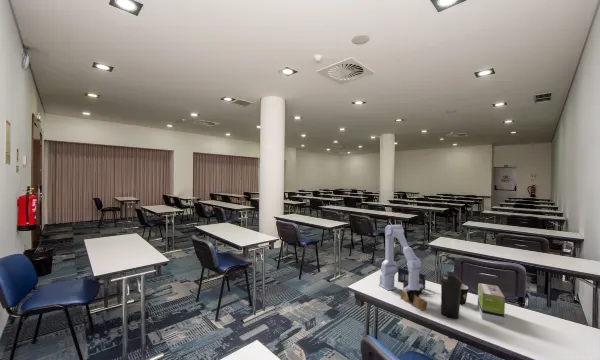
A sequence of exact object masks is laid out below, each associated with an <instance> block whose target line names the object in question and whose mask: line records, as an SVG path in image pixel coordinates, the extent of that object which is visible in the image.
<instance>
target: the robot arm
mask: <svg viewBox="0 0 600 360" xmlns="http://www.w3.org/2000/svg"><path fill="white" fill-rule="evenodd" d="M404 232H405V229H404V227H403V226H402V224H387V225H386V226H385V227H384V235H385V244H384V245H385V247H384V248H385V255H384V257H385V259H384V260H383V261H382V262H381V266H380V272H381V273H380V274H379V284H378V286H379V287H381V288H383V289H384V290H387V291H392V290H397V289H398V287H396V286H395V276H396V274H398V266H397V262H396V261H395V260H394V259H395V258H394V255H395V254H394V253H395V252H394V251H395V250H394V249H395V247H394V246H395V245H394V244H395V242H394V241H395V238H396V239H397V240H398V242H399V243H400V245H401V247H402V253H403V255H404V257H405V259H406V261H407V262H406V266H407V269H408V271H409V283H408V286H406V287H405V288H403V287H402V290H403V291H404V292H406V293H407V295H408V298H409V302H411V303H413V298H414V295H415V296H417V297H419V298H420V295H421V294H420V293H421V292H422V290H420V288H423V285H422V284H419V273H420V269H422V267H423V263H422V260H421V259H420V258H419V257H418V256H416V254H415V251H414V250H413V248H412V247H410V246H409V244H408V241H407V239H406V237H405V233H404Z"/></svg>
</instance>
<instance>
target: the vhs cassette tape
mask: <svg viewBox="0 0 600 360" xmlns="http://www.w3.org/2000/svg"><path fill="white" fill-rule="evenodd" d="M426 277H427V276H426V274H425V273H421V272H419V279H420V280H422V285H423V291H424V290H425V289H426ZM397 282H399V283H402V284H403V283H406V282H409V271H408V268H404V267H400V266H399V267H397Z"/></svg>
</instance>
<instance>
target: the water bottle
mask: <svg viewBox="0 0 600 360" xmlns="http://www.w3.org/2000/svg"><path fill="white" fill-rule="evenodd" d="M462 284H463V281H462V279H461V278H460V277H458V276H457V275H456V272H453V271H446V273H445V274H443V275H442V276H440V286H441V289H440V290H441V291H440V299H441V300H440V301H441V303H440V304H441V306H440V308H441V309H440V310H441V312H440V314H441V315H442V316H443V317H445V318H447V319H450V320H458V319H459V318H460V308H461V307H460V306H461V305H460V294H461V286H462Z"/></svg>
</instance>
